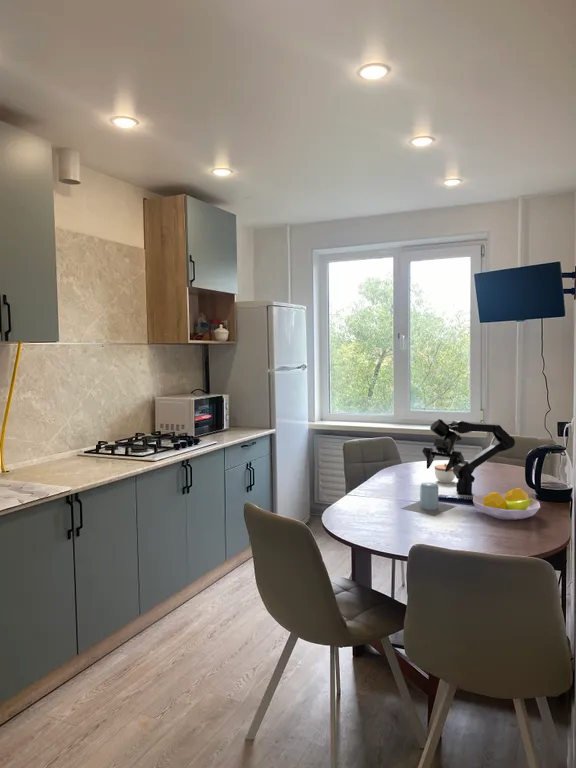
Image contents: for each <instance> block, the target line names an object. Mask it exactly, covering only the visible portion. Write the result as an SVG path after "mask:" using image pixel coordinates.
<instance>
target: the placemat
mask: <svg viewBox="0 0 576 768" xmlns="http://www.w3.org/2000/svg"><path fill="white" fill-rule="evenodd" d="M456 507H457V505H453V504H448V503H443V502H439V501H438V508H437V509H435V510H427V509H423V508H421V507H420V500H419V501H416V502H414V503H411V504H408V505H406V506H403V507H401V508H400V509H401V510H405V511H409V512H414V513H419V514H423V515H427V516H432V517H436V516H438V515H440V514H442V513H445V512H447V511H449V510H451V509H454V508H456Z"/></svg>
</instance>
